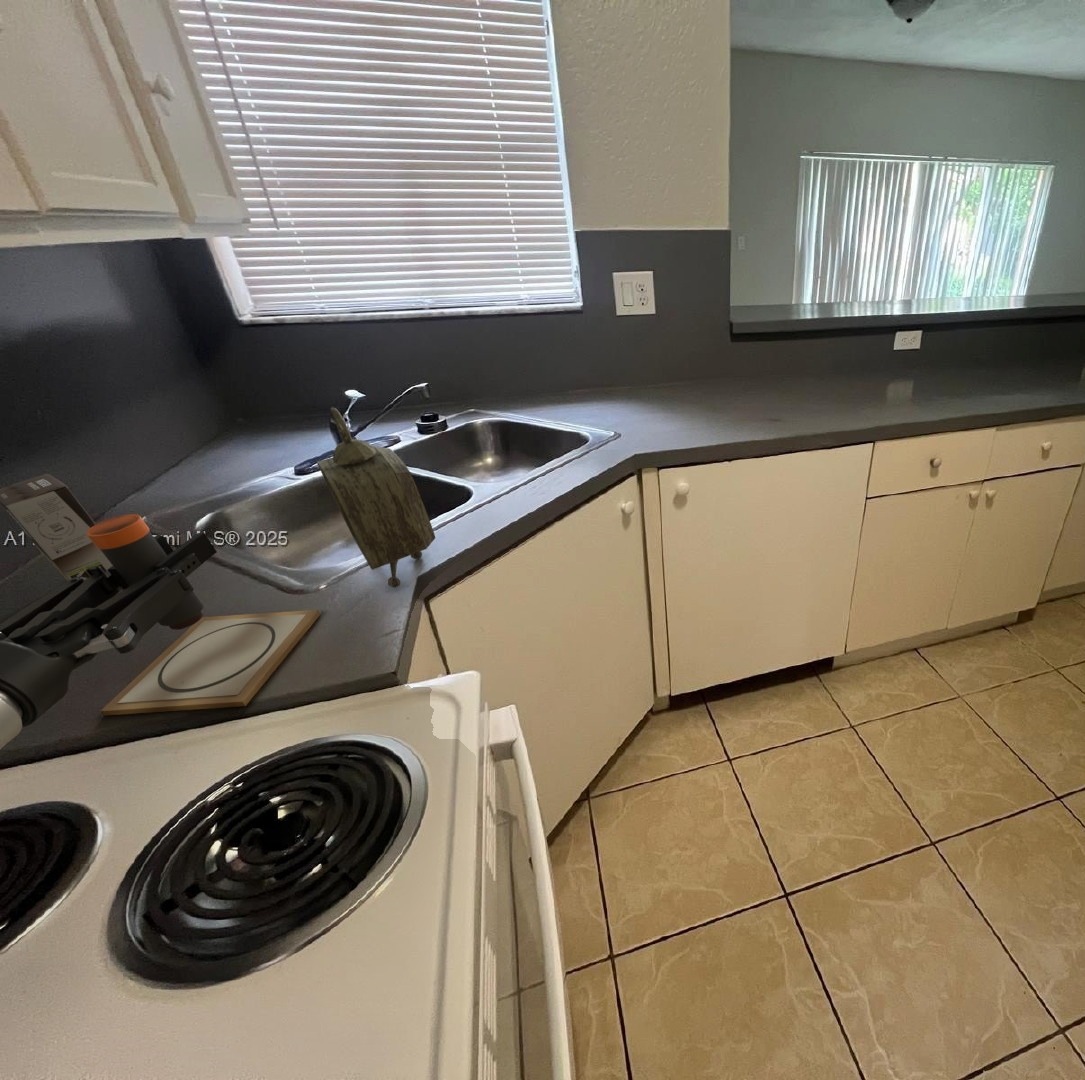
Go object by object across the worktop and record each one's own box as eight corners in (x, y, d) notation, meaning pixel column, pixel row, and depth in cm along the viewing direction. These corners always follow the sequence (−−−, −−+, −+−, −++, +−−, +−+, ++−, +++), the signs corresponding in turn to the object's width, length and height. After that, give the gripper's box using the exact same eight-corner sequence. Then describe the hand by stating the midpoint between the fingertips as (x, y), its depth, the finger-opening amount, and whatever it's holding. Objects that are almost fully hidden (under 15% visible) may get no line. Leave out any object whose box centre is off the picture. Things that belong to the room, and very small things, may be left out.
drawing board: (104, 715, 64) (98, 710, 64) (204, 621, 78) (200, 616, 77) (245, 706, 65) (241, 700, 64) (321, 613, 78) (318, 608, 77)
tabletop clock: (361, 556, 89) (288, 404, 76) (420, 534, 94) (361, 387, 80) (386, 598, 80) (307, 434, 66) (450, 571, 85) (389, 413, 71)
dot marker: (153, 634, 63) (74, 537, 56) (181, 610, 66) (110, 515, 59) (191, 632, 63) (117, 534, 56) (217, 607, 66) (150, 512, 59)
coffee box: (139, 577, 87) (68, 485, 78) (84, 600, 83) (2, 506, 74) (119, 560, 92) (49, 471, 83) (66, 582, 87) (-14, 490, 78)
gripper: (-95, 741, 48) (132, 574, 67) (109, 727, 48) (276, 565, 67) (-178, 679, 43) (90, 521, 63) (46, 664, 44) (244, 511, 63)
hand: (186, 544), depth 65 cm, fingers closed on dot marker, 4 cm apart
